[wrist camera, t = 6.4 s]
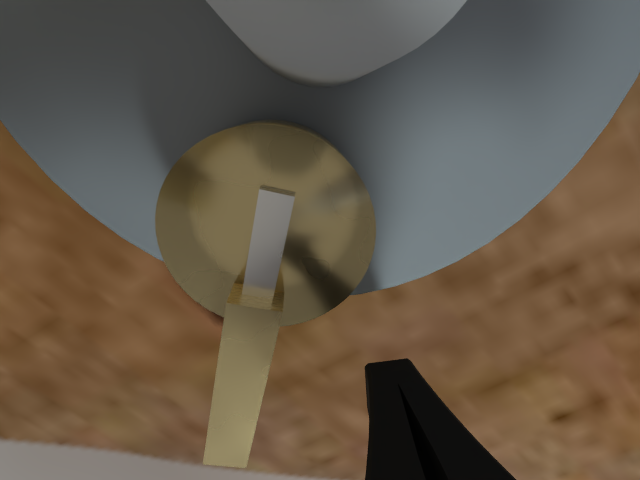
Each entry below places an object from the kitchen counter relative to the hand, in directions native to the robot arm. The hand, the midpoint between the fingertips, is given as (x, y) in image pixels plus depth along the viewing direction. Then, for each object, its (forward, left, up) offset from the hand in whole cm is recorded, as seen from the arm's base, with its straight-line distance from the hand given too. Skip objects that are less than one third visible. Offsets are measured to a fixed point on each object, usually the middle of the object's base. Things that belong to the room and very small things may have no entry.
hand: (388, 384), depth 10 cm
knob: (+4, -2, -2) cm, 5 cm away
